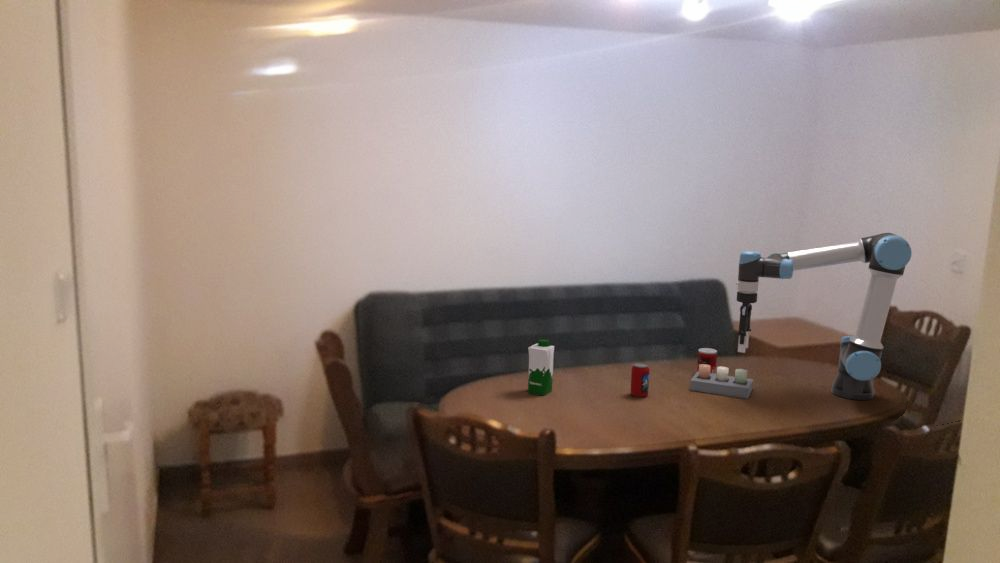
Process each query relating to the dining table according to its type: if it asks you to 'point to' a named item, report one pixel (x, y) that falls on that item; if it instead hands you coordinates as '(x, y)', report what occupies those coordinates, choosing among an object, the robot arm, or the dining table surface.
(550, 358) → the milk carton
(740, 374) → the button sage
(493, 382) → the dining table surface
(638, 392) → the beverage can
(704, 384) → the console
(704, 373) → the button terracotta
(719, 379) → the button cream
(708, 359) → the canned food
